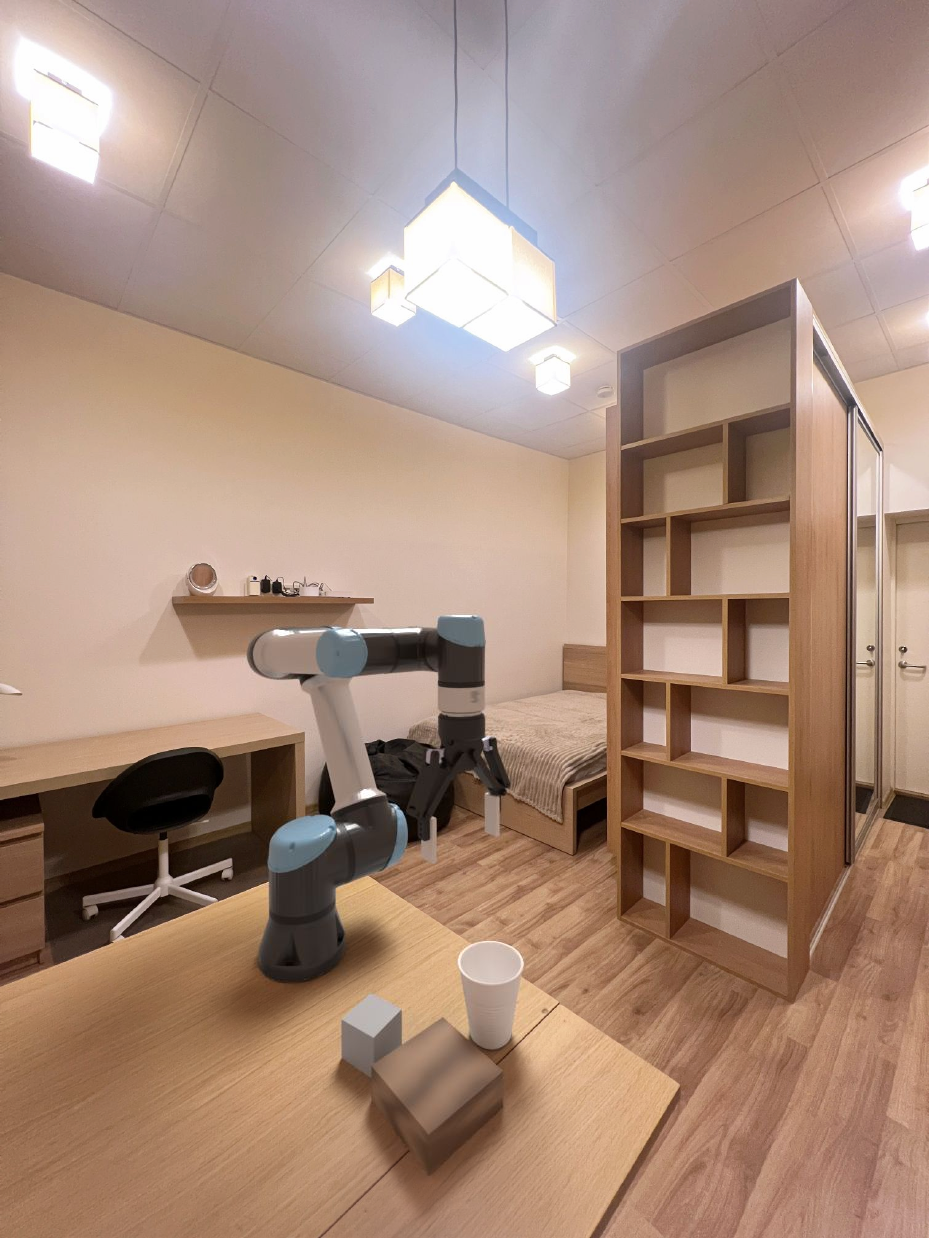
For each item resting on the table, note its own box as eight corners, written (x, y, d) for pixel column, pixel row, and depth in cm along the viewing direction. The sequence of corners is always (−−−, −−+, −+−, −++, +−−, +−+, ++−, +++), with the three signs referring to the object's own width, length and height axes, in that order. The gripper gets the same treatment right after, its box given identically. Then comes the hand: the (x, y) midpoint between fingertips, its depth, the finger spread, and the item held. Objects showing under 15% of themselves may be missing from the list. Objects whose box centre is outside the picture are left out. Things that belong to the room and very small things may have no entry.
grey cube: (341, 1061, 72) (341, 1019, 72) (370, 1032, 78) (370, 992, 78) (373, 1082, 69) (373, 1037, 69) (401, 1050, 74) (401, 1008, 74)
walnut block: (371, 1103, 66) (371, 1065, 66) (443, 1051, 74) (442, 1016, 74) (428, 1179, 57) (428, 1134, 57) (503, 1110, 66) (503, 1070, 66)
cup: (520, 1068, 71) (520, 989, 71) (450, 1056, 73) (450, 979, 73) (526, 1014, 81) (526, 944, 81) (464, 1005, 83) (464, 936, 83)
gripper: (413, 727, 70) (414, 882, 70) (530, 705, 87) (531, 830, 87) (382, 719, 76) (382, 863, 76) (498, 700, 93) (499, 818, 93)
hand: (462, 846), depth 82 cm, fingers open, 13 cm apart
